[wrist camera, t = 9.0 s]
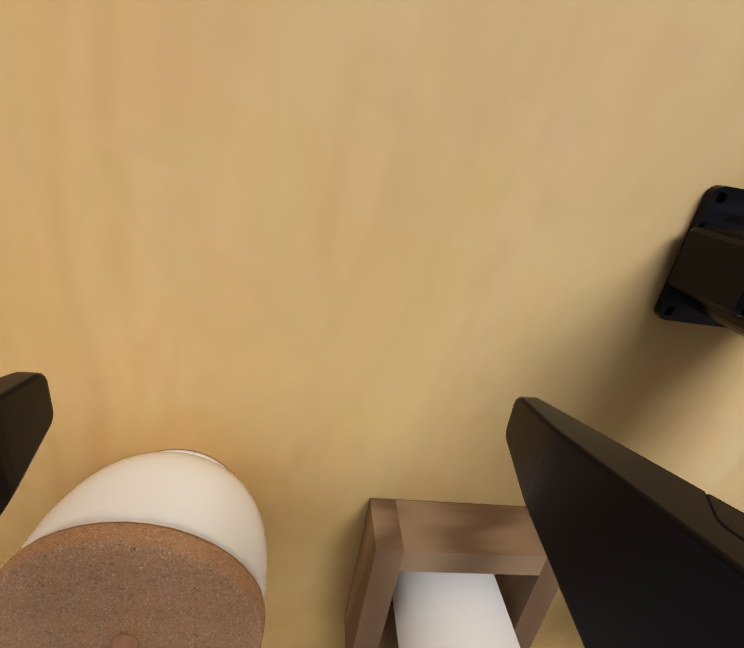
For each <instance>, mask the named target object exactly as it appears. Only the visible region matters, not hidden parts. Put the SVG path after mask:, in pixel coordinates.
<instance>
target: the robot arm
mask: <svg viewBox="0 0 744 648" xmlns="http://www.w3.org/2000/svg"><path fill="white" fill-rule="evenodd" d="M719 193H720V197H719V199H718V200H717V201H716V197H717V195H718V194H719ZM667 307H669V308H668V310H667V311H665V309H666V308H667ZM654 311H655V314H656V315H657V316H658V317H660V318H662V319H664V320H670V321H678V322H686V323H694V324H702V325H710V326H718V327H726V328H730V329H732V330H734V331H736V332H737V333H739V334H741V335H743V336H744V189H739V188H733V187H727V186H722V185H715V186H713V187H711V188H710V189H709V190H708V191H707V192H706V194H705V196H704V198H703V200H702V202H701V205H700V207H699V209H698V211H697V214H696V216H695V218H694V220H693V223H692V225H691V227H690V229H689V232H688V234H687V236H686V238H685V241H684V243H683V245H682V247H681V250H680V252H679V254H678V256H677V259H676V261H675V263H674V265H673V268H672V270H671V272H670V274H669V276H668V279H667V281H666V283H665V285H664V288H663V290H662V292H661V294H660V297H659V299H658V301H657V303H656V306H655V309H654ZM52 420H53V407H52V402H51V397H50V392H49V387H48V382H47V379H46V377H45V376H44V375H43V374H41V373H33V372H15V373H12V374H9V375H6V376H3V377H0V515H1V514H2V512H3V511H4V509H5V508H6V506H7V505H8V503H9V502H10V500H11V498H12V497H13V495H14V493H15V491H16V490H17V488H18V486H19V484H20V482H21V481H22V479H23V477H24V475H25V473H26V471H27V469H28V467H29V465H30V463H31V462H32V460H33V458H34V456H35V454H36V452H37V450H38V448H39V446H40V444H41V443H42V441H43V439H44V437H45V435H46V433H47V431H48V429H49V427H50V425H51V423H52ZM506 440H507V444H508V447H509V451H510V454H511V457H512V461H513V464H514V468H515V471H516V474H517V478H518V481H519V485H520V488H521V491H522V495H523V498H524V501H525V504H526V507H527V509H528V512H529V515H530V517H531V520H532V522H533V524H534V527H535V529H536V532H537V534H538V536H539V539H540V541H541V544H542V546H543V548H544V551H545V553H546V556H547V558H548V560H549V563H550V565H551V568H552V570H553V572H554V575H555V577H556V580H557V582H558V584H559V587H560V589H561V592H562V594H563V596H564V599H565V601H566V604H567V606H568V609H569V611H570V613H571V616H572V618H573V621H574V623H575V625H576V628H577V630H578V633H579V635H580V637H581V640H582V642H583V645H584V647H585V648H744V513H743V512H741V511H739V510H737V509H735V508H734V507H732V506H730V505H728V504H726V503H725V502H723V501H721V500H719V499H717V498H716V497H714V496H712V495H710V494H707V495H706V493H705V492H704V491H703V490H701V489H699V488H698V487H696V486H694V485H692V484H691V483H689V482H687V481H685V480H683V479H682V478H680V477H678V476H676V475H674V474H673V473H671V472H669V471H667V470H666V469H664V468H662V467H660V466H658V465H657V464H655V463H653V462H651V461H649V460H648V459H646V458H644V457H642V456H641V455H639V454H637V453H635V452H633V451H632V450H630V449H628V448H626V447H624V446H623V445H621V444H619V443H617V442H616V441H614V440H612V439H610V438H608V437H607V436H605V435H603V434H601V433H599V432H598V431H596V430H594V429H592V428H591V427H589V426H587V425H585V424H583V423H582V422H580V421H578V420H576V419H574V418H573V417H571V416H569V415H567V414H566V413H564V412H562V411H560V410H558V409H557V408H555V407H553V406H551V405H550V404H548V403H546V402H544V401H542V400H541V399H539V398H535V397H519V398H517V399H516V401H515V403H514V405H513V409H512V412H511V416H510V419H509V422H508V426H507V430H506Z"/></svg>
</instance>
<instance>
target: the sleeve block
mask: <svg viewBox="0 0 744 648" xmlns="http://www.w3.org/2000/svg"><path fill="white" fill-rule="evenodd" d="M399 571H411V572H443V573H475V574H496V576H495V579H496V582H497V584H498V587H499V590H500V593H501V595H502V598H503V601H504V604H505V606H506V609H507V612H508V615H509V618H510V620H511V623H512V626H513V629H514V631H515V634H516V637H517V640H518V643H519V645H520V648H530V646H531V644H532V641H533V639H534V637H535V635H536V633H537V631H538V629H539V627H540V625H541V623H542V621H543V619H544V617H545V615H546V612H547V610H548V608H549V606H550V604H551V602H552V600H553V598H554V596H555V594H556V592H557V590H558V588H559V584H558V582H557V580H556V577H555V575H554V572H553V570H552V568H551V565H550V563H549V560H548V558H547V556H546V553H545V551H544V548H543V546H542V544H541V541H540V539H539V536H538V534H537V532H536V529H535V527H534V524H533V522H532V520H531V517H530V515H529V512H528V509H527V507H521V506H503V505H485V504H467V503H448V502H430V501H412V500H394V499H376V498H370V502H369V507H368V512H367V516H366V521H365V526H364V530H363V535H362V540H361V545H360V549H359V554H358V559H357V563H356V568H355V573H354V578H353V582H352V587H351V592H350V596H349V601H348V606H347V611H346V615H345V647H346V648H399V646H398V638H397V630H396V622H395V614H394V606H390V603H391V600H392V596H393V592H394V589H395V585H396V581H397V577H398V574H399Z"/></svg>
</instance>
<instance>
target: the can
mask: <svg viewBox="0 0 744 648" xmlns="http://www.w3.org/2000/svg"><path fill="white" fill-rule="evenodd" d="M392 598H393V606H394V614H395V622H396V630H397V638H398V646H399V648H520V645H519V643H518V640H517V637H516V634H515V631H514V629H513V626H512V623H511V620H510V618H509V615H508V612H507V609H506V606H505V604H504V601H503V598H502V595H501V593H500V590H499V587H498V584H497V582H496V579H495V576H494V574H475V573H443V572H411V571H399V574H398V577H397V581H396V585H395V589H394V592H393V596H392Z"/></svg>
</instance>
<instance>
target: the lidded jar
mask: <svg viewBox="0 0 744 648" xmlns="http://www.w3.org/2000/svg"><path fill="white" fill-rule="evenodd" d="M266 584H267V543H266V536H265V529H264V525H263V521H262V518H261V515H260V512H259V509H258V507H257V505H256V503H255V501H254V499H253V497H252V496H251V494H250V493H249V491H248V490H247V489H246V487H245V486H244V485H243V483H242V482H241V481H240V480H239V479H237V478H236V477H235V476H234V475H233V474H232V473H231V472H229V470H228V469H227V468H226V467H225V466H223V465H222V464H221V463H219V462H218V461H217V460H215V459H213V458H211V457H209V456H207V455H204V454H202V453H199V452H194V451H190V450H181V449H171V450H163V451H159V452H152V453H144V454H139V455H136V456H132V457H128V458H126V459H123V460H120V461H118V462H115V463H113V464H111V465H108V466H106V467H104V468H103V469H101V470H100V471H98V472H96V473H95V474H93V475H91V476H90V477H88V478H87V479H85V480H83V481H82V482H81V483H80V484H79V485H77V486H76V487H75V488H74V489H73V490H72V491H71V492H69V493H68V494H67V495H66V496H65V497H64V498H63V499H62V500H60V501H59V502H58V503H57V504H56V505H55V506H54V507H53V509H52V510H51V511H50V512H49V513H48V514H47V515H46V516H45V517H44V518H43V519H42V521H41V522H40V523H39V525H38V526H37V527H36V528H35V530H34V531H33V532H32V534H31V535H30V536H29V537H28V539H27V540H26V542H25V543H24V544H23V546H22V547H21V548H20V550H19V551H18V553H16V554H15V555H14V556H13V557H12V558H11V559H10V560H9V561H8V562H7V563H6V564H5V566H4V567H3V568H2V570H1V571H0V648H260V647H261V642H262V637H263V632H264V624H265V594H266Z"/></svg>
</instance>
